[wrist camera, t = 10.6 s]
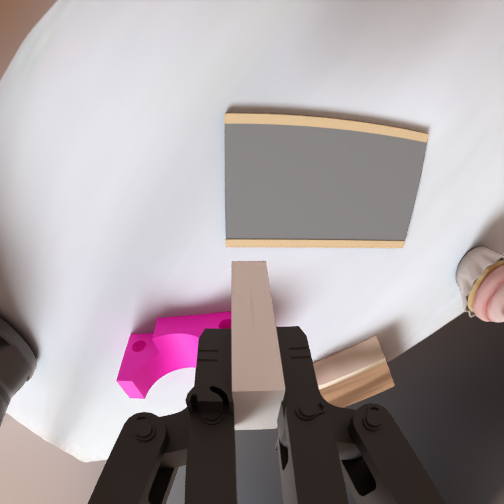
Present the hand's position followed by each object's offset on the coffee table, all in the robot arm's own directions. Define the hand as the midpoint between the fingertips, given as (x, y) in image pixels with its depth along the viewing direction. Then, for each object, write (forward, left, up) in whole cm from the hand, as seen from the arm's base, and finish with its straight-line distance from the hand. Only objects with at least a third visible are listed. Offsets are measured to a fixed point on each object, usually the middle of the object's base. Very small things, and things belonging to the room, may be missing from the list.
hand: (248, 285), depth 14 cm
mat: (+7, 0, -14) cm, 16 cm away
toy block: (-7, -18, -14) cm, 24 cm away
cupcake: (+29, -9, -14) cm, 34 cm away
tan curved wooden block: (+18, -30, -12) cm, 37 cm away
